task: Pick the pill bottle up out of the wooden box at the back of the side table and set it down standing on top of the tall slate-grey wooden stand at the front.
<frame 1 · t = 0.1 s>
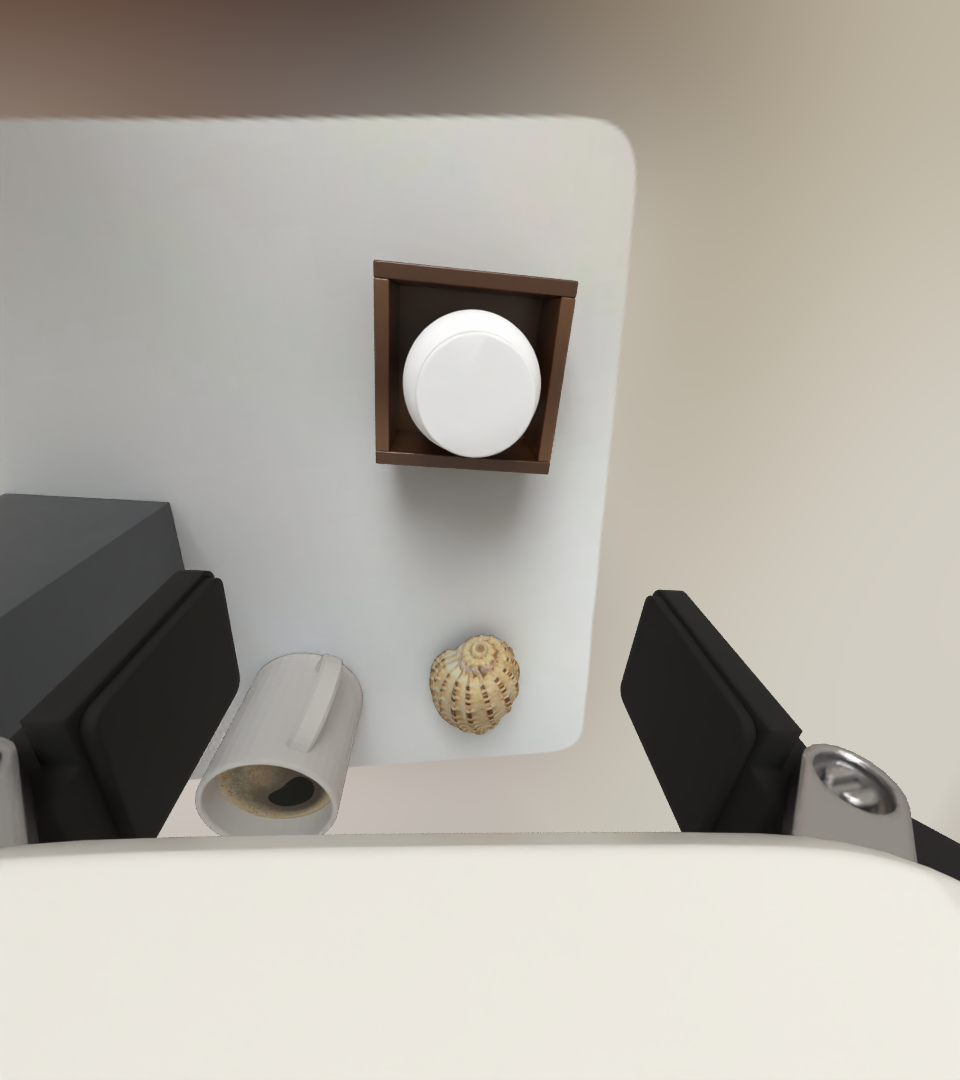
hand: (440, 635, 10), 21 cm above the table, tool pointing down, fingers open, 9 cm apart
pill bottle: (466, 367, 28), resting on wooden box
mug: (318, 685, 39), on the table
seashell: (474, 670, 39), on the table
wooden box: (466, 366, 28), on the table
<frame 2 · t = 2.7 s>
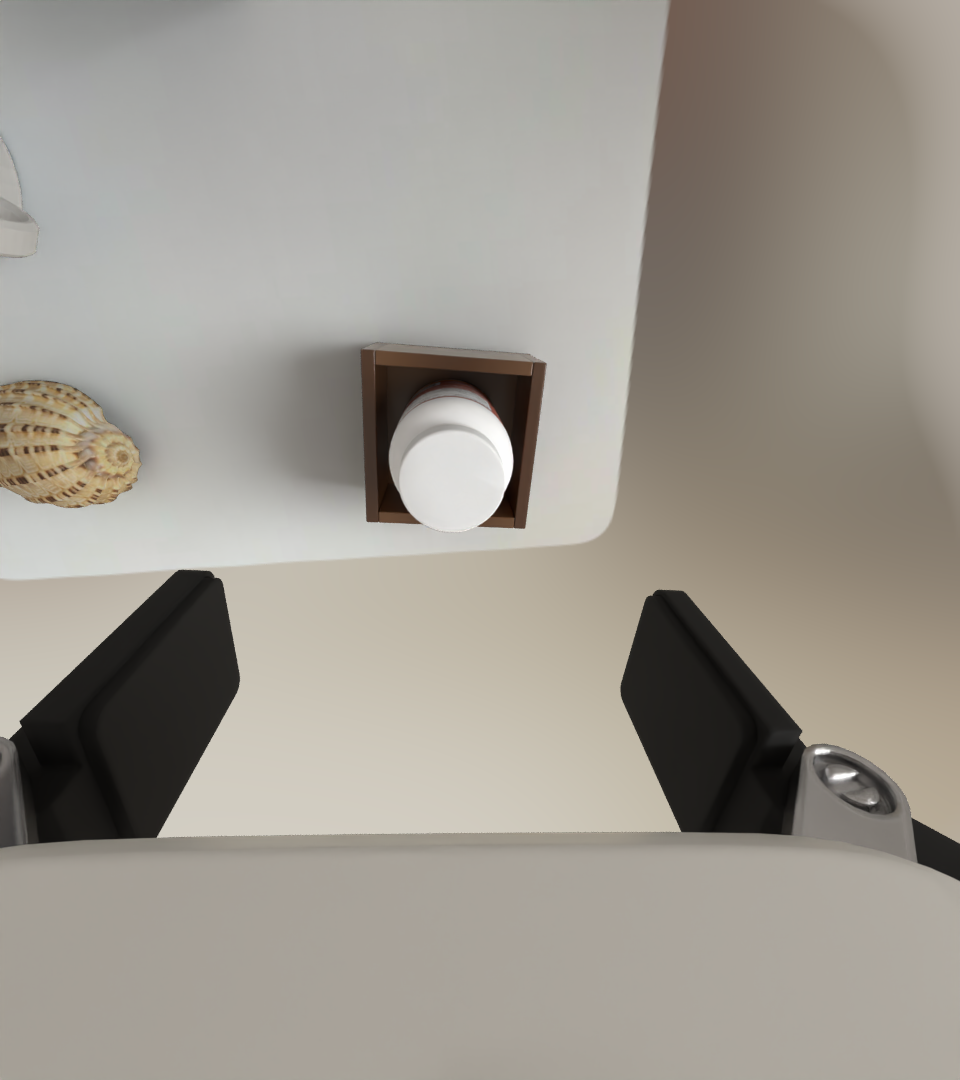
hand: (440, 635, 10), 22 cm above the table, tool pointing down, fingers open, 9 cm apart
pill bottle: (450, 426, 30), resting on wooden box
seashell: (71, 440, 29), on the table
wooden box: (450, 425, 30), on the table
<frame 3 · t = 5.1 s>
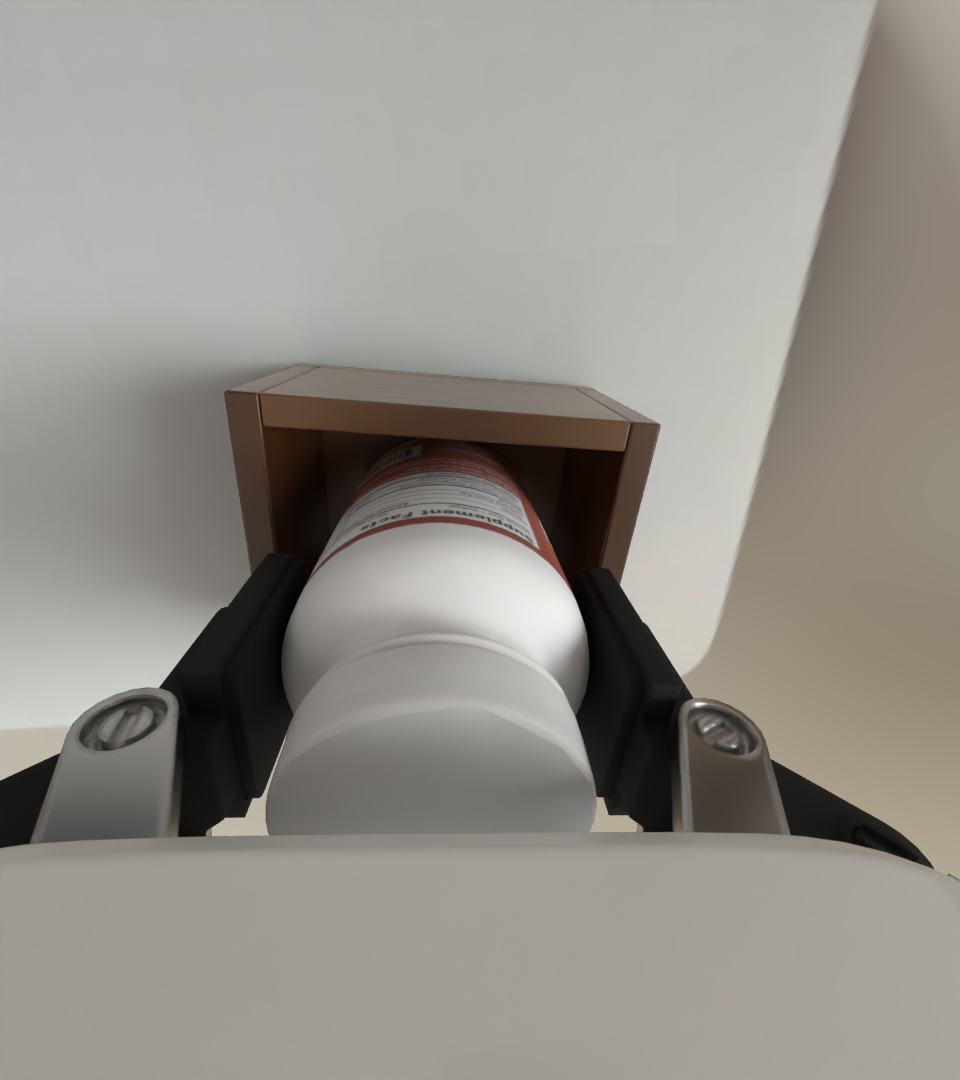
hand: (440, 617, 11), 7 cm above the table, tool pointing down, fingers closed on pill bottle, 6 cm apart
pill bottle: (443, 514, 17), resting on wooden box, touching gripper
wooden box: (443, 510, 17), on the table
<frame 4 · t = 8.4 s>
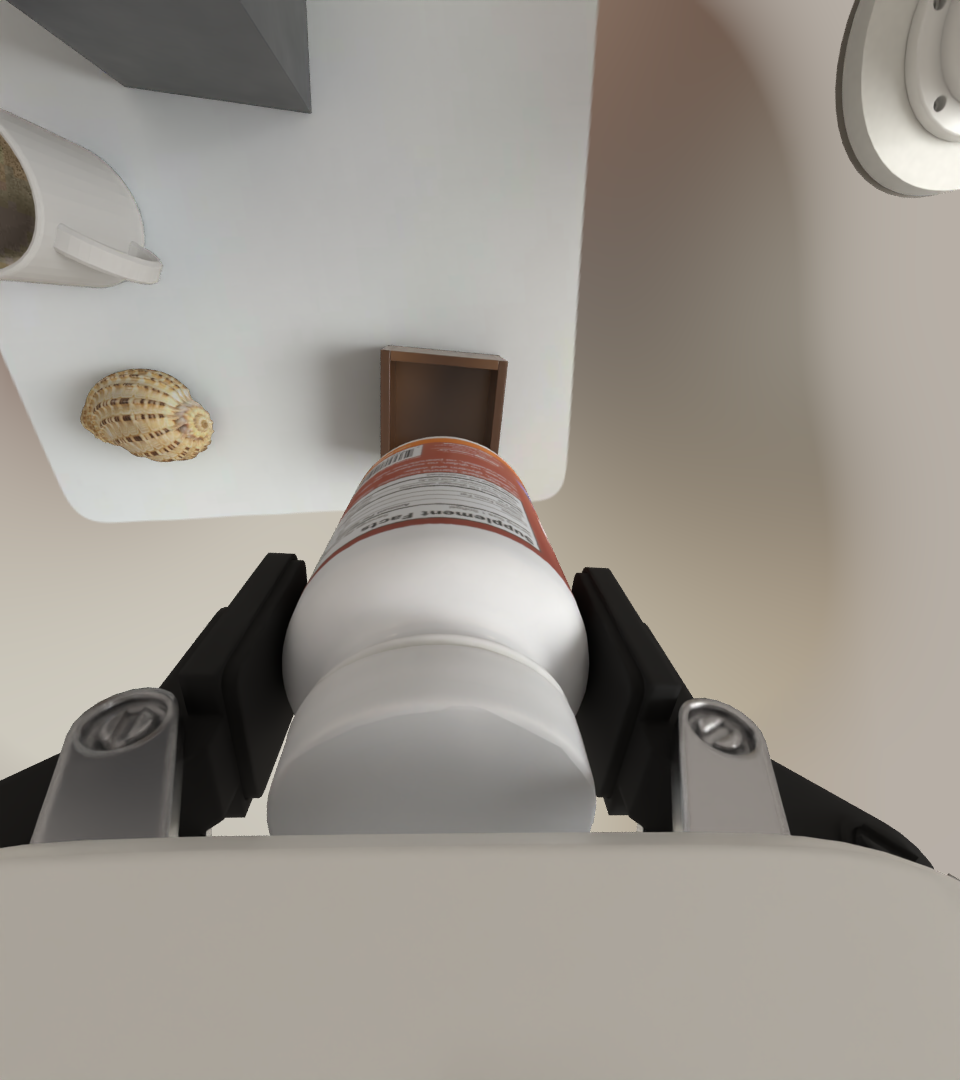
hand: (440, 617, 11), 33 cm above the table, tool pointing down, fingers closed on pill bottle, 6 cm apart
pill bottle: (443, 515, 17), point 27 cm above the table, touching gripper
mug: (95, 232, 34), on the table
seashell: (160, 414, 40), on the table
wooden box: (441, 407, 41), on the table
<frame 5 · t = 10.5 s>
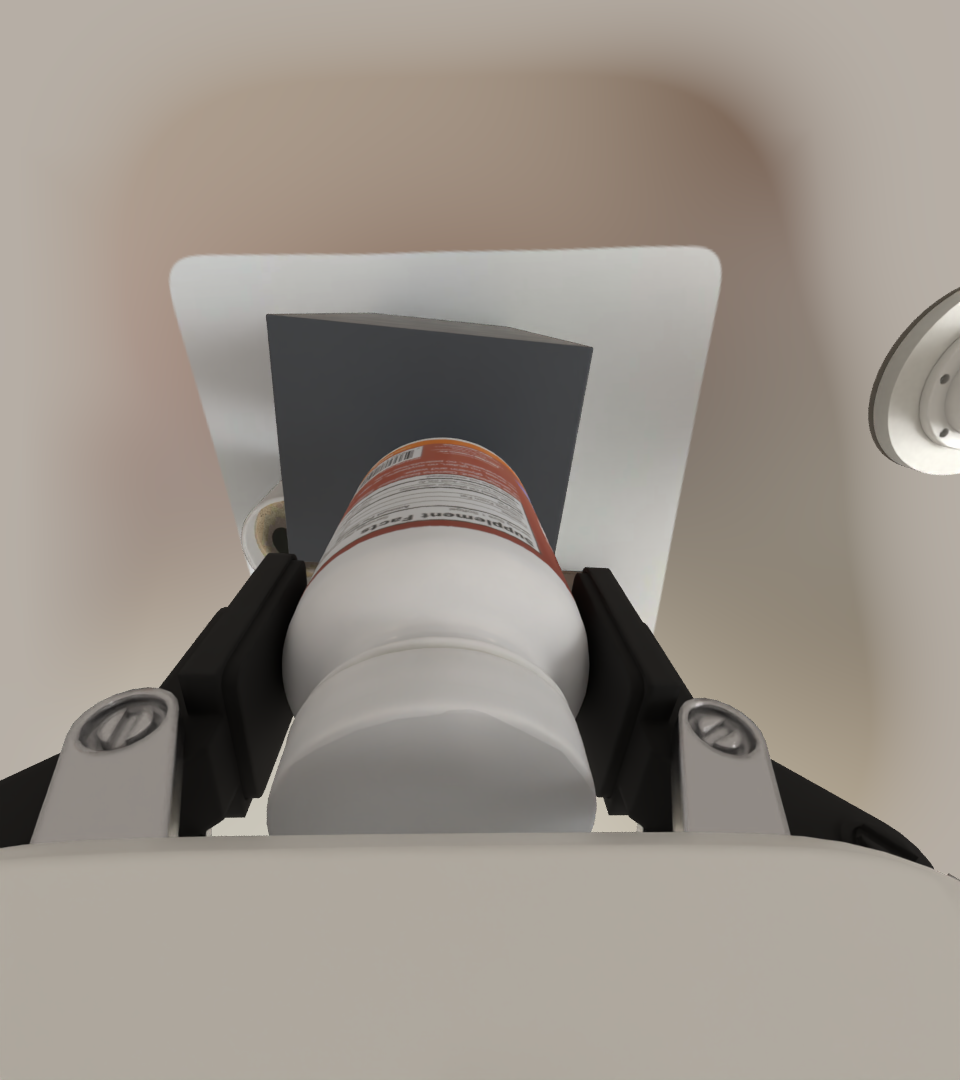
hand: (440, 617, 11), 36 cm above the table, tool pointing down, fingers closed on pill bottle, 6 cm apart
pill bottle: (443, 516, 17), point 29 cm above the table, touching gripper
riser: (429, 463, 19), on the table
mug: (333, 508, 47), on the table
when the fingers open (32 cm above the table, at t = 11.9 s): pill bottle stays where it is, resting on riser.
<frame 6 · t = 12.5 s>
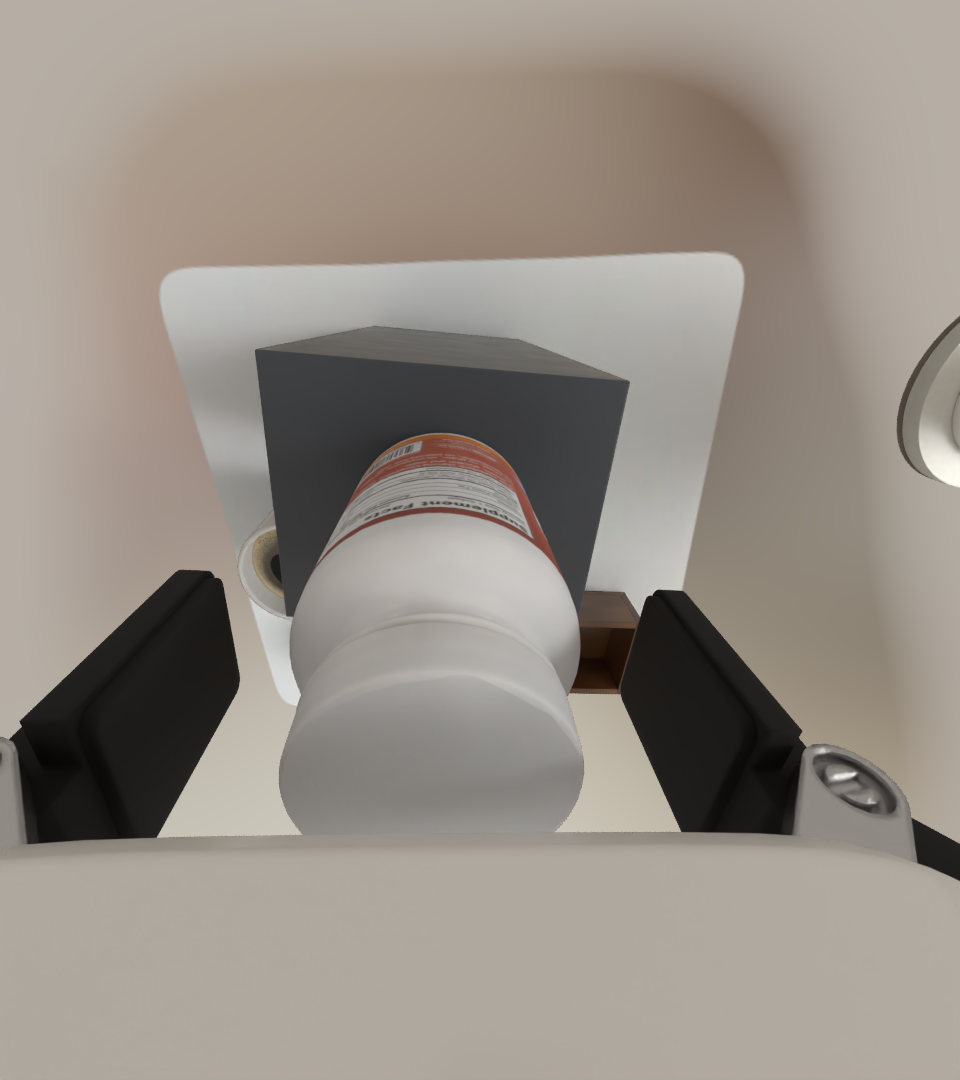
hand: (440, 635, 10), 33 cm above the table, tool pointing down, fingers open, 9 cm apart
pill bottle: (442, 509, 17), point 26 cm above the table, touching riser
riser: (441, 510, 17), on the table
mug: (335, 529, 45), on the table
wooden box: (575, 625, 52), on the table
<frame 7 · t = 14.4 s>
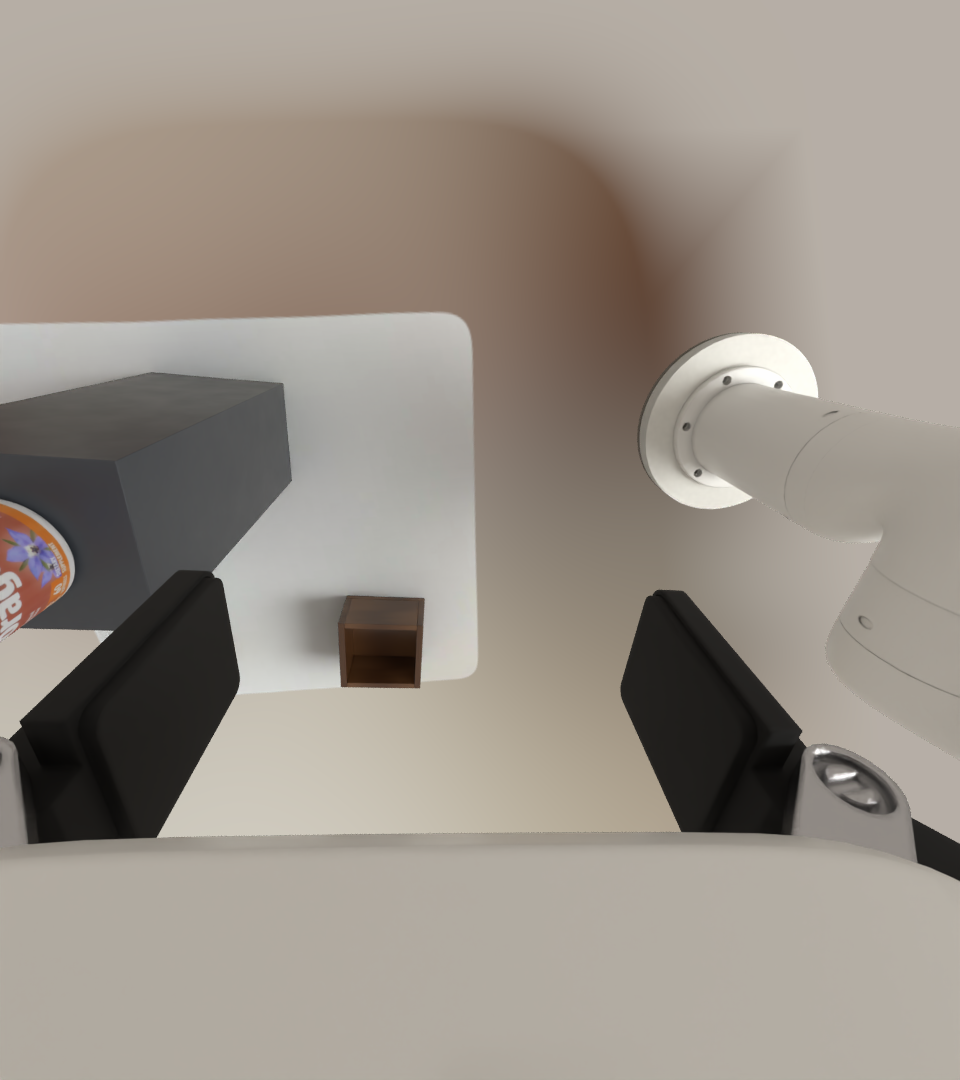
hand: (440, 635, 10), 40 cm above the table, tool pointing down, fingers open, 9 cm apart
pill bottle: (15, 548, 23), point 26 cm above the table, touching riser
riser: (12, 548, 23), on the table
wooden box: (385, 627, 59), on the table
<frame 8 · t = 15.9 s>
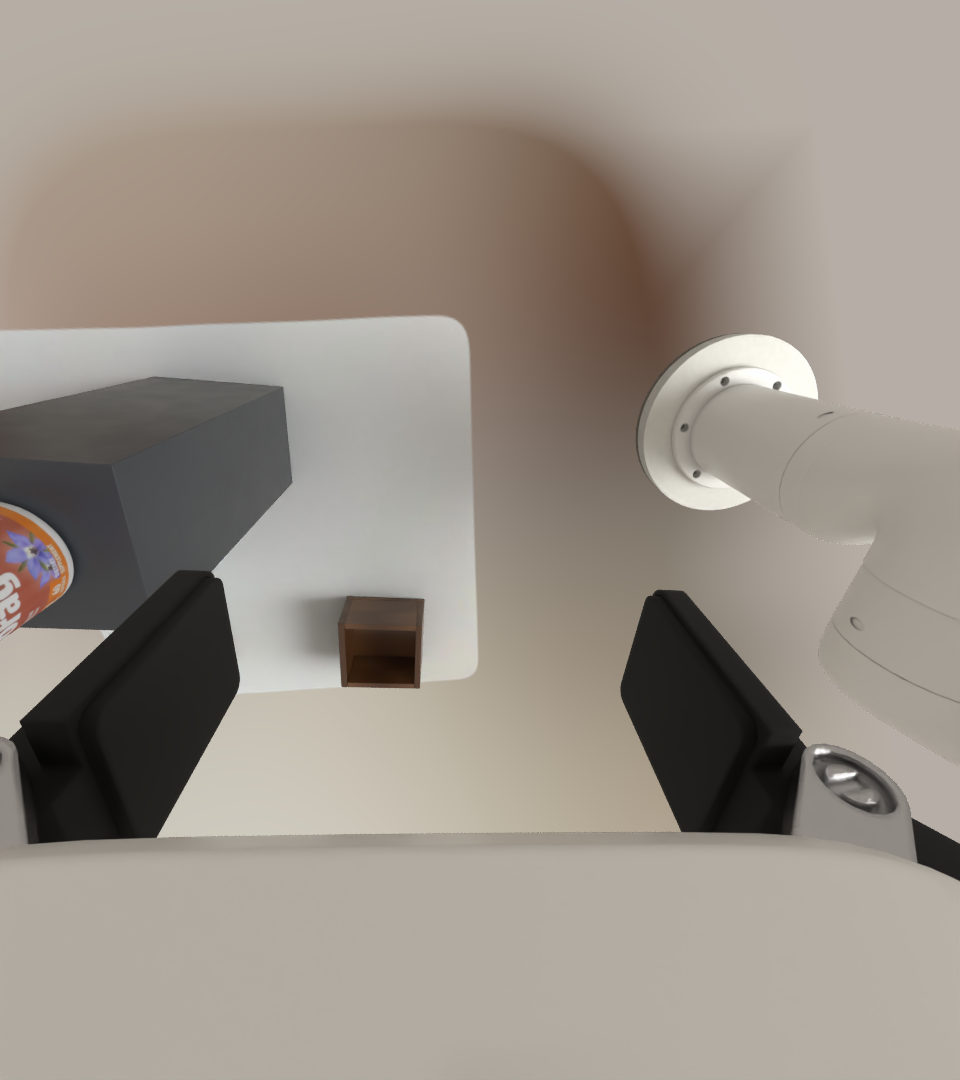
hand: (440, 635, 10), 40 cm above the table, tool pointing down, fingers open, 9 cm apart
pill bottle: (16, 549, 24), point 26 cm above the table, touching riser
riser: (13, 550, 24), on the table
wooden box: (386, 628, 59), on the table
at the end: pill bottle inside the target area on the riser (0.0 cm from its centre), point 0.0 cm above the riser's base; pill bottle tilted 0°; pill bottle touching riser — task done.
